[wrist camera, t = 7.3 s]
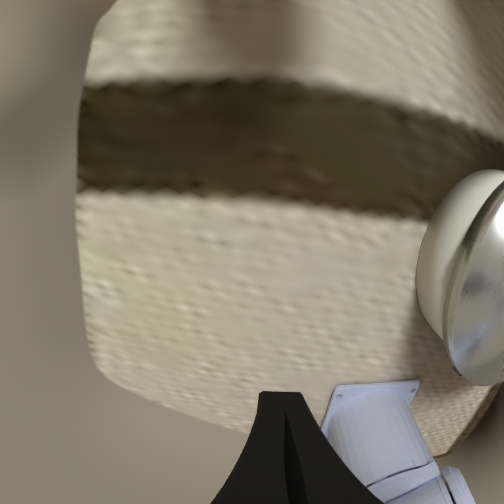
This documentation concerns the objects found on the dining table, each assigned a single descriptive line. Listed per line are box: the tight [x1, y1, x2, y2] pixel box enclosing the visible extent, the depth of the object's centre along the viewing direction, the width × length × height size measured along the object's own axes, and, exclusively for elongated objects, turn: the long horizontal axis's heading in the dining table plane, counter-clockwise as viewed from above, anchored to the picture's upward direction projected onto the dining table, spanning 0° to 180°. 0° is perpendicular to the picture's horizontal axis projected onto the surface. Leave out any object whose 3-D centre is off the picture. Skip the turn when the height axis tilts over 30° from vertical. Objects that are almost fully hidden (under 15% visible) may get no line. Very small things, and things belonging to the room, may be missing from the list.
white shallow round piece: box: [416, 169, 504, 376], centre depth 16 cm, size 16×14×4 cm
